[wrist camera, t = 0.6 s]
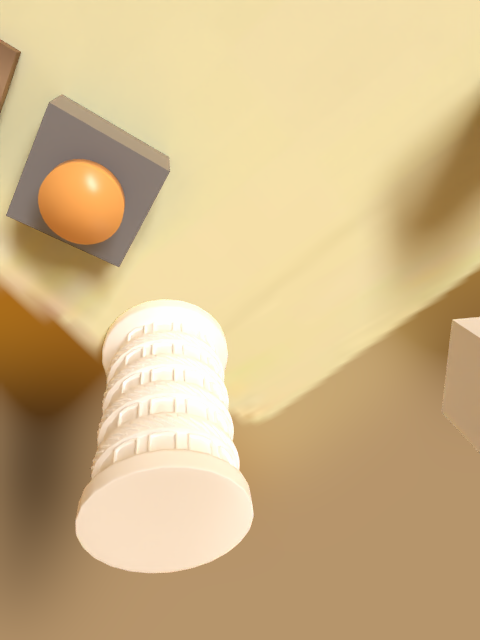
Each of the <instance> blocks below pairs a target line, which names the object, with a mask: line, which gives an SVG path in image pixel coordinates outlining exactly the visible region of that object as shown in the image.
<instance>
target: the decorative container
mask: <svg viewBox="0 0 480 640" xmlns="http://www.w3.org/2000/svg"><path fill="white" fill-rule="evenodd" d="M227 359H228V351H227V344H226V339H225V335H224V333H223V331H222V329H221V327H220V325H219V323H218V322H217V321H216V320H215V319H214V318H213V317H212V316H211V315H210V314H209V313H208V312H206V311H205V310H203V309H201V308H200V307H198V306H196V305H194V304H190V303H187V302H184V301H181V300H170V299H160V300H153V301H147V302H144V303H141V304H139V305H136V306H134V307H131V308H129V309H128V310H127V311H125V312H124V313H123V314H121V315H120V316H119V317H117V319H116V320H115V321H114V322H113V324H112V325H111V326H110V328H109V329H108V332H107V334H106V337H105V340H104V344H103V349H102V364H103V367H104V370H105V373H106V376H107V381H106V384H107V387H106V392H105V393H104V394H103V396H104V399H103V400H102V404H103V406H102V411H103V416H102V417H101V421H100V423H99V424H98V427H99V429H98V431H97V434H98V437H97V442H98V444H97V446H98V449H97V451H96V453H95V456H94V459H93V460H92V462H93V466H91V470H92V474H91V478H92V480H91V481H90V482H89V483H88V484H87V485H86V487H85V488H84V490H83V493H82V495H81V498H80V500H79V504H78V509H77V515H76V520H75V521H76V536H77V537H78V540H79V541H80V543H81V545H82V547H83V548H84V549H85V550H86V551H87V552H88V553H89V554H90V555H92V556H93V557H94V558H95V559H97V560H99V561H101V562H103V563H105V564H107V565H109V566H111V567H115V568H119V569H123V570H127V571H131V572H143V573H164V572H175V571H180V570H185V569H190V568H194V567H197V566H199V565H202V564H205V563H208V562H211V561H213V560H215V559H216V558H218V557H220V556H222V555H224V554H226V553H227V552H229V551H230V550H231V549H232V548H234V547H235V546H236V545H237V544H238V543H240V542H241V540H242V539H243V538H244V536H245V535H246V533H247V532H248V531H249V529H250V526H251V523H252V520H253V516H254V515H253V507H252V500H251V495H250V489H249V485H248V483H247V481H246V480H245V478H244V476H243V475H242V473H241V472H240V471H239V456H238V452H237V449H236V447H235V445H234V443H233V441H232V440H233V433H234V426H233V422H232V418H231V416H230V413H229V412H228V406H229V397H228V393H227V389H226V387H225V385H224V371H225V369H226V364H227Z"/></svg>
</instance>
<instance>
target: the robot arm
mask: <svg viewBox="0 0 480 640" xmlns="http://www.w3.org/2000/svg"><path fill="white" fill-rule="evenodd" d="M442 414H443V415H444V416H445V417H446V418H447V419H448V420H449V421H450V422H451V423H452V424H453V425H454V427H455V428H457V430H458V431H459V432H460V433H461V434H462V435H463V436H464V437H465V438H466V439H467V440H468V442H469V443H470V444H471V445H472V446H473V447H474V448H475V449H476V450H477V451H478V452H479V453H480V317H476V318H465V319H454V320H452V326H451V335H450V343H449V353H448V361H447V370H446V378H445V387H444V397H443V405H442Z"/></svg>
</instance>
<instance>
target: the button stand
mask: <svg viewBox="0 0 480 640" xmlns="http://www.w3.org/2000/svg"><path fill="white" fill-rule="evenodd" d="M72 159H86V160H90V161H93V162H96V163H98V164H101V165H102V166H104V167H105V168H107V169H108V170H109V171H110V172H111V173H112V174H113V175H114V176H115V177H116V178H117V179H118V181H119V183H120V184H121V187H122V189H123V192H124V196H125V209H124V214H123V218H122V222H121V224H120V226H119V228H118V230H117V231H116V232H115V233H114V234H113V235H112V236H111V237H110V238H108V239H107V240H105V241H103V242H100V243H96V244H89V245H84V244H76V243H73V242H70V241H67V240H65V239H63V238H61V237H60V236H58V235H57V234H56V233H55V232H53V231H52V230H51V229H50V228H49V227H48V225H47V224H46V223H45V221H44V219H43V217H42V215H41V213H40V209H39V205H38V194H39V190H40V186H41V184H42V182H43V181H44V179H45V178H46V177H47V176H48V174H49V173H50V172H51V171H52V170H53V169H54V168H55V167H56V166H57V165H59V164H61V163H62V162H65V161H68V160H72ZM169 172H170V163H169V157H168V156H166V155H164V154H163V153H161V152H159V151H158V150H156V149H154V148H152V147H151V146H149V145H147V144H146V143H144V142H142V141H141V140H139V139H137V138H135V137H134V136H132V135H130V134H129V133H127V132H125V131H124V130H122V129H120V128H118V127H117V126H115V125H113V124H112V123H110V122H108V121H106V120H105V119H103V118H101V117H100V116H98V115H96V114H95V113H93V112H91V111H89V110H88V109H86V108H84V107H83V106H81V105H79V104H78V103H76V102H74V101H72V100H71V99H69V98H67V97H66V96H64V95H60V96H59V97H57V98H55V99H54V100H52V101H50V102H49V104H48V107H47V109H46V112H45V114H44V117H43V120H42V122H41V125H40V128H39V130H38V133H37V136H36V138H35V141H34V143H33V146H32V149H31V151H30V154H29V157H28V159H27V162H26V164H25V167H24V170H23V172H22V175H21V178H20V180H19V183H18V185H17V188H16V191H15V193H14V196H13V199H12V201H11V204H10V206H9V209H8V212H7V214H6V216H8V217H10V218H13V219H15V220H17V221H19V222H21V223H23V224H26V225H28V226H30V227H32V228H34V229H37V230H39V231H41V232H43V233H45V234H48V235H50V236H52V237H54V238H56V239H58V240H61V241H63V242H65V243H67V244H69V245H72V246H74V247H76V248H78V249H80V250H83V251H85V252H87V253H89V254H91V255H94V256H96V257H98V258H100V259H102V260H104V261H107V262H109V263H111V264H113V265H115V266H118V267H119V266H120V265H121V263H122V261H123V259H124V257H125V255H126V253H127V251H128V249H129V248H130V246H131V244H132V242H133V240H134V238H135V236H136V234H137V232H138V231H139V229H140V227H141V225H142V223H143V221H144V219H145V217H146V215H147V214H148V212H149V210H150V208H151V206H152V204H153V202H154V200H155V198H156V197H157V195H158V193H159V191H160V189H161V187H162V185H163V183H164V181H165V180H166V178H167V176H168V174H169Z"/></svg>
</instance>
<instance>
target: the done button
mask: <svg viewBox="0 0 480 640" xmlns="http://www.w3.org/2000/svg"><path fill="white" fill-rule="evenodd" d="M38 205H39V209H40V213H41V215H42V217H43V219H44V221H45V223H46V224H47V225H48V227H49V228H50V229H51V230H52V231H53V232H55V233H56V234H57V235H58V236H60V237H61V238H63V239H65V240H67V241H70V242H73V243H76V244H84V245H89V244H96V243H100V242H103V241H105V240H107V239H108V238H110V237H111V236H112V235H113V234H114V233H115V232H116V231H117V230H118V228H119V226H120V224H121V222H122V218H123V214H124V209H125V196H124V192H123V189H122V187H121V184H120V183H119V181H118V179H117V178H116V177H115V176H114V175H113V174H112V173H111V172H110V171H109V170H108V169H107V168H105V167H104V166H102V165H101V164H98V163H96V162H93V161H90V160H86V159H72V160H68V161H65V162H62V163H61V164H59V165H57V166H56V167H55V168H54V169H53V170H52V171H51V172H50V173H49V174H48V176H47V177H46V178H45V179H44V181H43V182H42V184H41V186H40V190H39V194H38Z"/></svg>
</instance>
